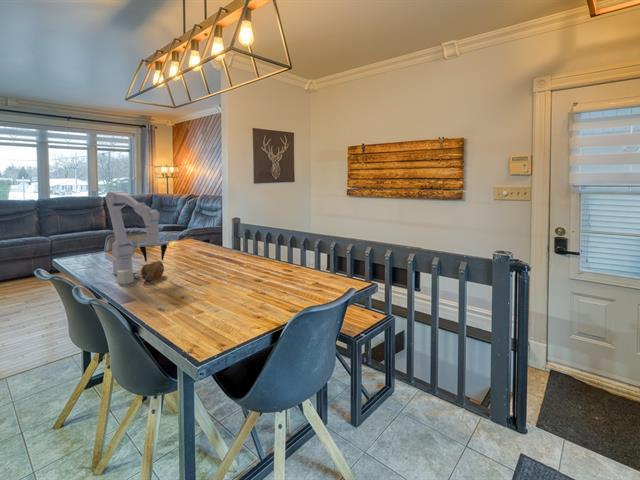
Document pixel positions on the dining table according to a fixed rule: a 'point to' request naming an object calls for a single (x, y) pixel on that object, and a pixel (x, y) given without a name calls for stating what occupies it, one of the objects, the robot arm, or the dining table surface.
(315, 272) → the dining table surface
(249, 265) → the dining table surface
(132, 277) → the grey block
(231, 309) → the dining table surface
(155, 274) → the tin
